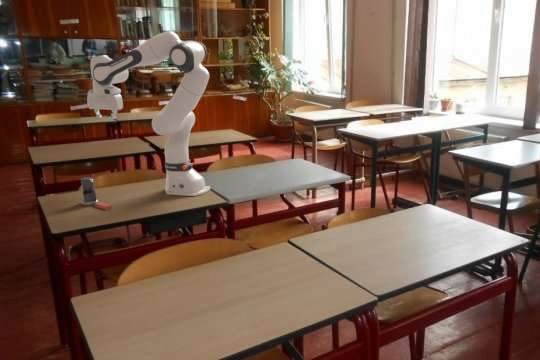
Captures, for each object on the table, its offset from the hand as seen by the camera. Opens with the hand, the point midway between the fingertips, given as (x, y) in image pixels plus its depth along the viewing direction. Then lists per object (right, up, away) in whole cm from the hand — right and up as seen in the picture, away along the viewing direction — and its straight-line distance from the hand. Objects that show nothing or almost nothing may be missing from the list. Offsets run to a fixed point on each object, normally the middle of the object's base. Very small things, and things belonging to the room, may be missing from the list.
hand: (106, 118), depth 232 cm
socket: (-1, -39, -18) cm, 43 cm away
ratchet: (+3, -41, -21) cm, 46 cm away
